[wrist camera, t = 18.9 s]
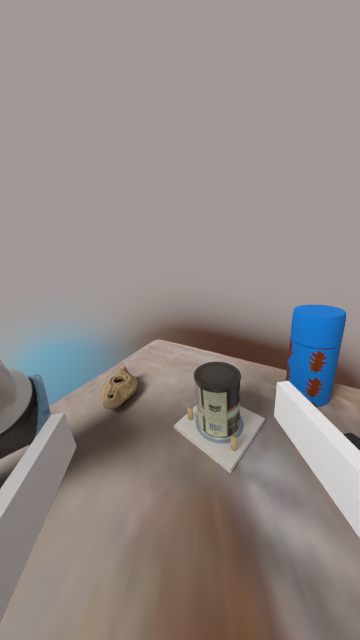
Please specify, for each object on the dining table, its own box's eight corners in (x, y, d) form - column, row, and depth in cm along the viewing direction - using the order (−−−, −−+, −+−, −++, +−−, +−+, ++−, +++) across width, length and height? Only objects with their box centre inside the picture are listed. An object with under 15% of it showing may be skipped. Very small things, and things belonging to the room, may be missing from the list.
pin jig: (174, 428, 49) (172, 416, 48) (211, 394, 59) (211, 383, 58) (230, 473, 38) (230, 458, 37) (264, 421, 48) (265, 408, 47)
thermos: (288, 403, 53) (298, 317, 45) (282, 379, 63) (289, 304, 55) (336, 410, 50) (356, 317, 42) (322, 383, 59) (336, 304, 51)
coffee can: (230, 403, 54) (229, 358, 49) (247, 435, 44) (249, 383, 39) (193, 410, 53) (189, 365, 48) (203, 445, 43) (200, 392, 38)
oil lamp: (98, 420, 54) (91, 397, 51) (107, 386, 68) (102, 366, 65) (138, 412, 55) (133, 389, 52) (139, 381, 69) (135, 361, 67)
